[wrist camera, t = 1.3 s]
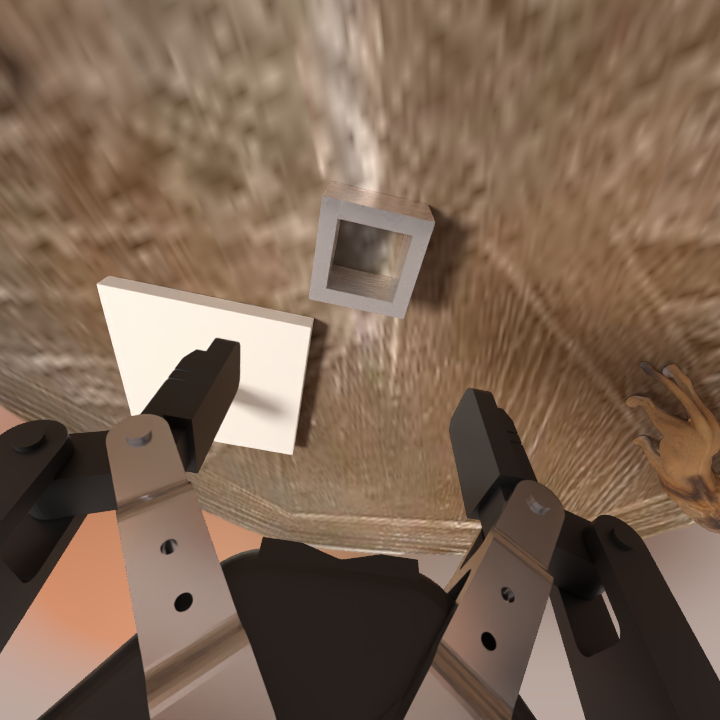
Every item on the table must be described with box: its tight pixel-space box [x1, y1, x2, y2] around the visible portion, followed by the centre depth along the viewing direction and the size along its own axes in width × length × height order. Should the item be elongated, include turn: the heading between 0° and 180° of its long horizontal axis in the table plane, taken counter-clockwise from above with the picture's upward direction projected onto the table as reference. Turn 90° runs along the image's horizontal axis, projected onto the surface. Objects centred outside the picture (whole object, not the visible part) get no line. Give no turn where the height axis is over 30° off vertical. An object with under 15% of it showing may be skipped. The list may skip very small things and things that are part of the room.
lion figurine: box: [626, 362, 720, 534], centre depth 29 cm, size 15×5×9 cm, turn 36°
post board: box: [97, 276, 314, 455], centre depth 29 cm, size 16×16×8 cm
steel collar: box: [309, 181, 435, 319], centre depth 23 cm, size 6×6×4 cm
